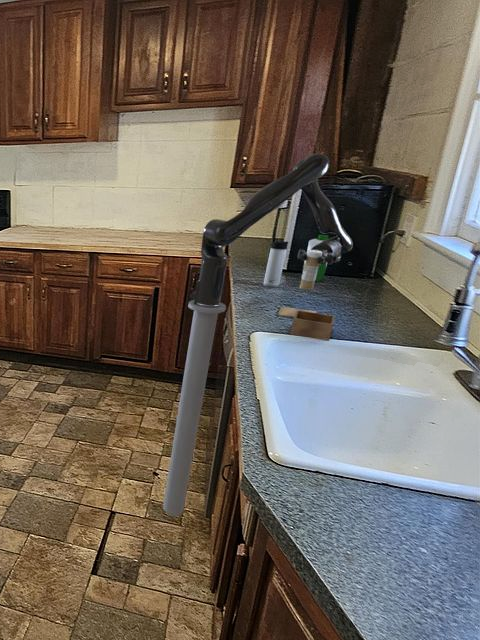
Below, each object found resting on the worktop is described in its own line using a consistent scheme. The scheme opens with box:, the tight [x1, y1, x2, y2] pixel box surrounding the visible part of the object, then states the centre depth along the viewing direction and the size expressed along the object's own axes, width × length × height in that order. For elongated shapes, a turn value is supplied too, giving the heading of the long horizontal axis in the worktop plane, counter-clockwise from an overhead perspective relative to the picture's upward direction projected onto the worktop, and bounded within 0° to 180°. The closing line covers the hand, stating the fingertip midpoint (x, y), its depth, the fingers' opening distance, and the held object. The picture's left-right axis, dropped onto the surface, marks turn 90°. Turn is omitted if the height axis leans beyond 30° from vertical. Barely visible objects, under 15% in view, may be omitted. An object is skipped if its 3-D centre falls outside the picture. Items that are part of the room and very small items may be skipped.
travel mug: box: [262, 241, 289, 289], centre depth 230 cm, size 6×7×20 cm
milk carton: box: [300, 234, 330, 283], centre depth 242 cm, size 9×9×20 cm
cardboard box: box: [289, 310, 336, 342], centre depth 175 cm, size 11×11×6 cm
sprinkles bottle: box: [299, 250, 322, 291], centre depth 185 cm, size 5×5×13 cm
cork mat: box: [276, 306, 318, 319], centre depth 195 cm, size 12×12×1 cm
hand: (311, 259), depth 182 cm, fingers closed on sprinkles bottle, 4 cm apart
